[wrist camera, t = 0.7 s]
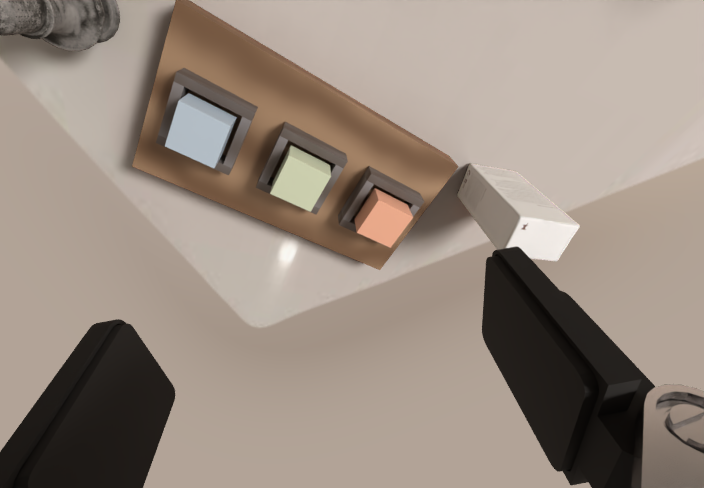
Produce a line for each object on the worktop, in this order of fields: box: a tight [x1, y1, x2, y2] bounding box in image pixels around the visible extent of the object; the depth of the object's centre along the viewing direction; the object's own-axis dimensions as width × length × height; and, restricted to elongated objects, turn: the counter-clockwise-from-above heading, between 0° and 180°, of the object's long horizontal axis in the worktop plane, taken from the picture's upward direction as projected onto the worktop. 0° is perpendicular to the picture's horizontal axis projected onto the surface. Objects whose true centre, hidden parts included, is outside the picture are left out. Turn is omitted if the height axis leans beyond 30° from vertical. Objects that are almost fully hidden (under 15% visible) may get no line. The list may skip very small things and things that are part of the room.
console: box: [132, 0, 458, 270], centre depth 35 cm, size 15×28×5 cm, turn 60°
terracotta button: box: [354, 188, 413, 248], centre depth 36 cm, size 4×4×3 cm
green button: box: [270, 146, 331, 212], centre depth 32 cm, size 4×4×3 cm
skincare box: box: [457, 164, 580, 261], centre depth 36 cm, size 6×4×12 cm
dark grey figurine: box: [0, 0, 120, 51], centre depth 24 cm, size 6×6×12 cm
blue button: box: [165, 93, 237, 168], centre depth 29 cm, size 4×4×3 cm
